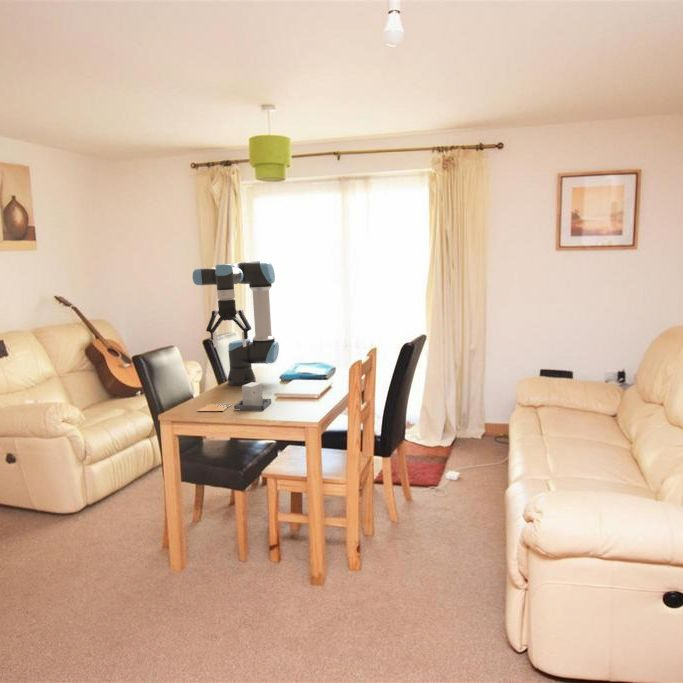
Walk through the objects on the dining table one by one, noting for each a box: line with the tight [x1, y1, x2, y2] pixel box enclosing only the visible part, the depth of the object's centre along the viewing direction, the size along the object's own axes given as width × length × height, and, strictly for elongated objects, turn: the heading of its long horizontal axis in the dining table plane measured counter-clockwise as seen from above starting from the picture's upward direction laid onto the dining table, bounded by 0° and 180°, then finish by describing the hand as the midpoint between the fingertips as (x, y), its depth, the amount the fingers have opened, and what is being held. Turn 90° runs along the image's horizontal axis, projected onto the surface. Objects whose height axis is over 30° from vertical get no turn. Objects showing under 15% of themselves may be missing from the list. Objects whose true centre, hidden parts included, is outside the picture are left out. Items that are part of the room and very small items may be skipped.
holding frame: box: [233, 398, 272, 411], centre depth 260 cm, size 12×13×2 cm
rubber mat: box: [215, 402, 232, 408], centre depth 260 cm, size 12×12×1 cm
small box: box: [241, 381, 264, 405], centre depth 260 cm, size 8×6×10 cm
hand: (230, 346), depth 257 cm, fingers open, 13 cm apart
